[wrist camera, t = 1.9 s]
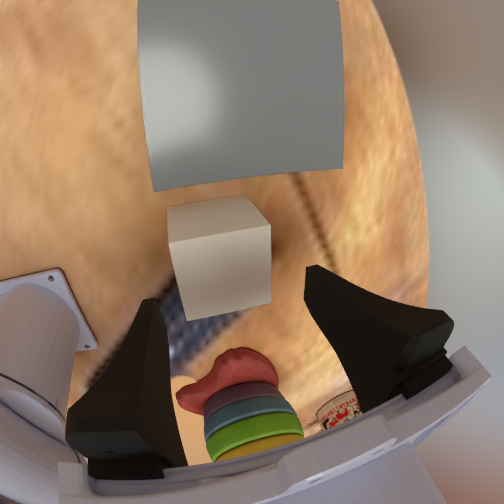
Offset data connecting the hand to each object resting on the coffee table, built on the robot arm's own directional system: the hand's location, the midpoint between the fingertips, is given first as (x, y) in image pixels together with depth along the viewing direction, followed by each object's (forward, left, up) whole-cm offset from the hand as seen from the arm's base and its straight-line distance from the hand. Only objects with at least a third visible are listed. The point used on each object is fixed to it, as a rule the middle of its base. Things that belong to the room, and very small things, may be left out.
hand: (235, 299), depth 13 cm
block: (0, 0, -7) cm, 7 cm away
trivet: (+3, +10, -7) cm, 12 cm away
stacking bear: (0, -18, -7) cm, 19 cm away
